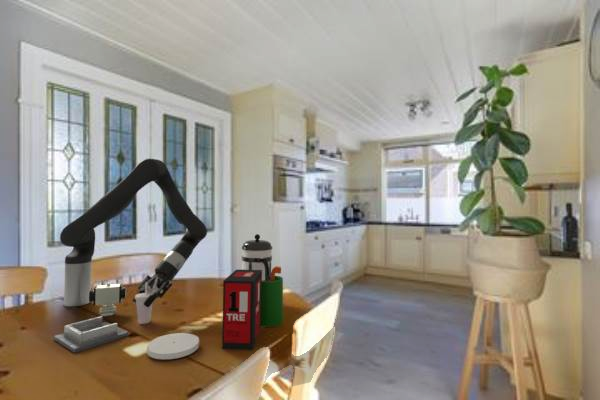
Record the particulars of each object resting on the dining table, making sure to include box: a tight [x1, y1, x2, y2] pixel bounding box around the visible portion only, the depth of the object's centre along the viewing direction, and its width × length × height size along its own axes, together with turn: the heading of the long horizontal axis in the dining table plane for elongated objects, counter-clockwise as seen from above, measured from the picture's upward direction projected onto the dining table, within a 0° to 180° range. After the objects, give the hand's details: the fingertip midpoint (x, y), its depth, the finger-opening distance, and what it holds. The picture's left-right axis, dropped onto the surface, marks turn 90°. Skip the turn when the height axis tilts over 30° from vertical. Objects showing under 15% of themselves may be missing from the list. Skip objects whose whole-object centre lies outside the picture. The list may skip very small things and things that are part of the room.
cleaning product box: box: [221, 269, 262, 351], centre depth 102 cm, size 16×9×20 cm, turn 178°
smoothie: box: [134, 282, 154, 325], centre depth 115 cm, size 6×6×14 cm
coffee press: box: [241, 233, 273, 281], centre depth 133 cm, size 17×16×30 cm
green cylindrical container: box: [261, 266, 284, 328], centre depth 117 cm, size 10×9×20 cm
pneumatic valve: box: [89, 282, 127, 318], centre depth 121 cm, size 6×12×12 cm, turn 115°
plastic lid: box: [146, 332, 200, 360], centre depth 93 cm, size 14×14×2 cm
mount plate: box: [53, 315, 129, 354], centre depth 100 cm, size 15×15×4 cm
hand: (140, 303), depth 113 cm, fingers open, 6 cm apart
